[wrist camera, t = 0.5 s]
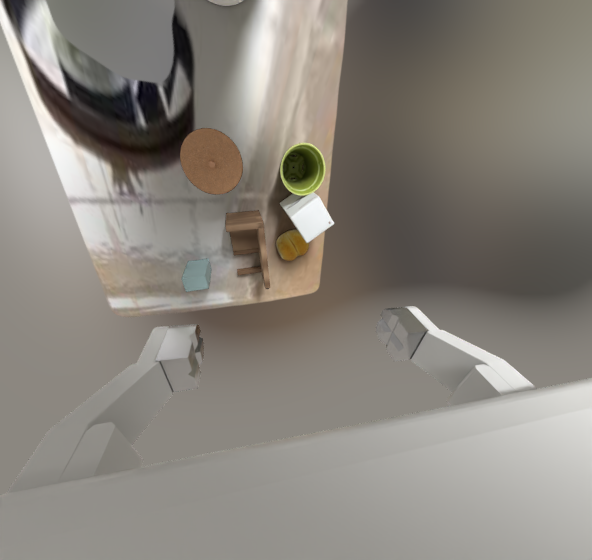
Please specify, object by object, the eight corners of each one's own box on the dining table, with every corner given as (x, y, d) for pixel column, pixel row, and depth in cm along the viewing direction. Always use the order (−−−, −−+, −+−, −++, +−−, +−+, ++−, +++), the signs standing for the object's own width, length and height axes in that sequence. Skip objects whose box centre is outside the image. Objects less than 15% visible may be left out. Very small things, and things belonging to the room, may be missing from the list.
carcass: (226, 213, 52) (225, 226, 43) (258, 210, 53) (263, 222, 45) (238, 276, 61) (239, 296, 53) (265, 272, 63) (270, 291, 54)
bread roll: (310, 248, 63) (315, 253, 59) (283, 261, 63) (286, 267, 59) (301, 222, 58) (305, 227, 55) (271, 237, 58) (273, 242, 55)
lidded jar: (230, 124, 43) (230, 120, 35) (247, 181, 49) (250, 188, 41) (177, 137, 42) (165, 135, 34) (201, 193, 48) (195, 202, 40)
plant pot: (313, 143, 48) (327, 142, 41) (311, 188, 53) (324, 194, 46) (272, 143, 46) (279, 142, 39) (274, 190, 51) (281, 196, 44)
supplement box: (302, 184, 52) (320, 195, 42) (316, 209, 57) (335, 224, 46) (278, 202, 53) (289, 217, 43) (293, 225, 57) (307, 244, 47)
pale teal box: (188, 261, 55) (181, 279, 48) (208, 258, 56) (204, 275, 49) (193, 276, 58) (187, 295, 51) (212, 273, 59) (209, 292, 52)
